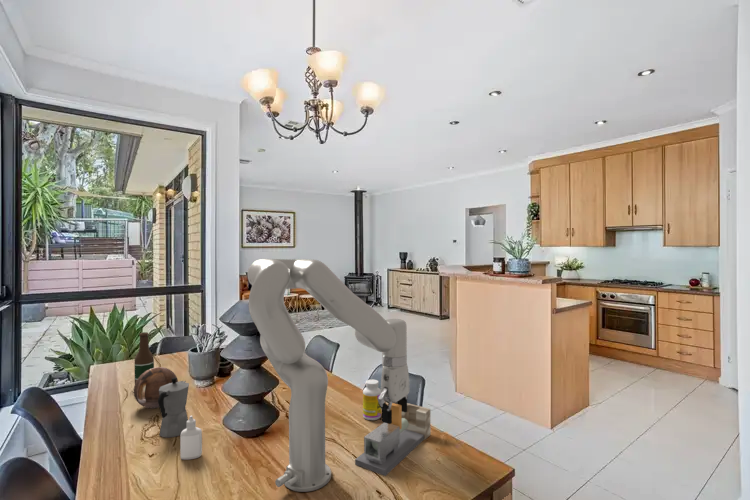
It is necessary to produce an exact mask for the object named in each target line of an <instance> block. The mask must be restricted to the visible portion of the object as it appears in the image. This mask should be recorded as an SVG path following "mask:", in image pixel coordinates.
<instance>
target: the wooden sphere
mask: <svg viewBox="0 0 750 500" xmlns="http://www.w3.org/2000/svg"><path fill="white" fill-rule="evenodd" d="M172 378H177V380H176V382H179V379H178V377H177V375H176V373H175V372H174V371H173V370H171V369H169V368H167V367H163V366H161V367H160V366H159V367H158V366H157V367H156V366H155V367H154V368H152V369H149V370H147V371H145V372H144V373H143V374H142V375H141V376H140V377H139V378H138V379H137V381H136V383H135V382H134V387H133V396H134V399H135V401H136V402H137V403H138V404H139V405H140V406H142V407H143V408H147V409H158V408H159V409H160V407H159V404H158V398H159V396H160V395H159V389H160V387H161V386H164V385H166V384H169V383H172Z"/></svg>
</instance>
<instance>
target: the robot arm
mask: <svg viewBox="0 0 750 500" xmlns="http://www.w3.org/2000/svg"><path fill="white" fill-rule="evenodd" d="M246 275H247V280H248V283H249V284H250V285H251V288H250V292H249V295H248V312H249V314H250V317H251V319H252V321H253V323H254V325H255V326H256V329H257V331H258V332H259V334H260V337H259V342H260V346H261V349H262V351H263V352H264V354H265V356H266V357H267V359H268V361H269V362H270V363H271V366H272V367H273V368H274V371H275V372H276V374H277V375H278V376H279V378H280V380H281V381H283V383H284V384H285V385H287V387H288V388H289V389H290V392H291V393H290V394H291V395H290V401H289V406H288V437H289V438H288V440H289V442H288V444H289V445H288V451H289V452H288V455H289V456H288V465H287V466H286V467H285V469H286V470H285V471H284V473H283V475H281V476H279V477H278V478H276V479H275V480H274V481H275V486H276V487H277V488H280V487H282V486H283V485H284V486H285V487H286V488H288V489H289V490H291V491H294V492H299V493H304V492H305V493H306V492H312V491H313V492H314V491H316V490H319V489H321V488H324V486H326V485H327V484H328V483H329V482H330V480H331V479H332V478H331V477H332V470H331V467H330V466H329V465H328V464H326V398H327V391H328V384H329V377H328V373H327V371H326V369H325V368H324V366H323V365H322V364H321V363H320V362H319V361H317V360H316V359H314V358H312V357H311V356H309V355H307V353H306V341H305V338H304V336H303V334H302V333H301V330H299V328H298V326H297V325H296V323H295V321H294V320H293V318H292V317H291V314H290V313H289V311H288V308H287V307H286V305H285V293H286V290H291V289H302V290H305V292H307V293H308V294H309V295H310V296H311V297H313V298H314V299H315V300H316V301H317V302H318V303H319V304H320V305H321V306H322V307H323V308H324V309H325V310H326V312H328V314H330V315H331V316H333V317H334V318H335V319H336V320H338V321H340V322H341V323H343V324H346V325H347V326H349V327H351V328H352V329H354V330H355V331H354V335H355V339H356V340H357V341H358V343H360V344H361V345H363V346H365V347H367V348H370V349H372V350H375V351H377V352H380V353H382V354H381V366H382V369H381V377H380V378H381V379H380V390H381V394H380V396H379V398H378V402H379V406H380V407H381V422H382V423H388V424H391V423H392V410H390V409H391V406H392V403H395V404H399V405H402V412H407V403H408V398H409V396H408V394H409V393H410V374H409V366H408V359H407V358H408V355H407V354H408V353H407V352H408V350H407V346H408V344H407V343H408V342H407V341H408V340H407V338H408V337H407V336H408V335H407V323H406V321H405V320H404V319H400V318H388V319H385V318H384V317H383V316H382V315H381V314H380V313H379V312H377V310H375V309H374V308H372V307H371V305H369V304H368V303H366V302H365V301H364V300H363V299H361V298H360V297H359V296H358V295H357V294H355V293H354V292H353V291H352V290H351V289H350V288H348V286H347V285H346V284H345V283H344V282H343V281H342V280H341V279H340V278H339V277H338V276H337V275H336V274H335V272H333V271H332V269H331V268H329V267H328V265H326V264H325V263H324V262H322V261H321V260H317V259H311V258H310V259H308V258H298V259H295V258H294V259H291V258H289V259H287V258H286V259H285V258H284V259H283V258H282V259H281V258H260V259H257V260H254V262H252V264H250V265H249V267H248V270H247V274H246ZM386 402H387V403H386Z"/></svg>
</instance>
